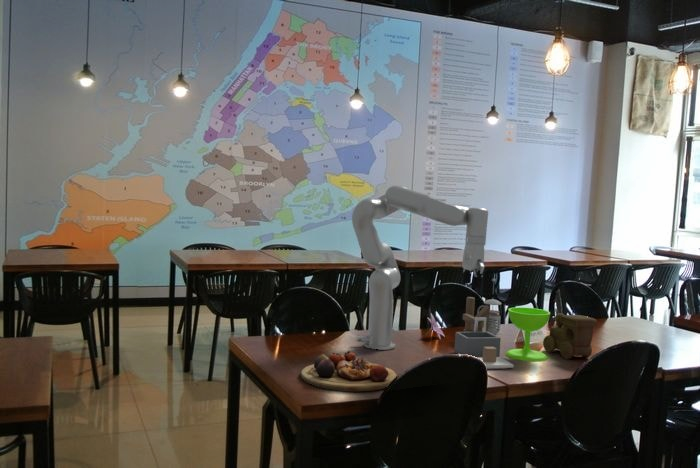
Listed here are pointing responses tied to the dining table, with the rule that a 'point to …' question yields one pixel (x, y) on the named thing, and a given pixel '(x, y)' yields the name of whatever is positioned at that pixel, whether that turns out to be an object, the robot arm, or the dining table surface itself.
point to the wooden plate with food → (347, 373)
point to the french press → (493, 315)
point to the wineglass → (528, 331)
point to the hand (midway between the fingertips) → (471, 285)
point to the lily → (435, 327)
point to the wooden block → (483, 313)
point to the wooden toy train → (571, 336)
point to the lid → (494, 359)
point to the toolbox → (476, 341)
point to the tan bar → (472, 320)
